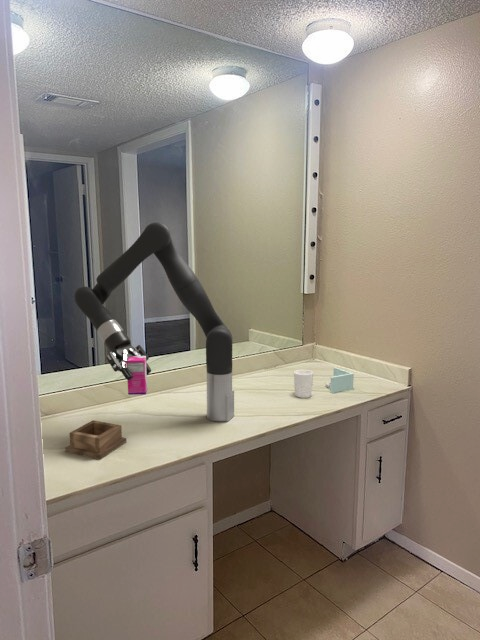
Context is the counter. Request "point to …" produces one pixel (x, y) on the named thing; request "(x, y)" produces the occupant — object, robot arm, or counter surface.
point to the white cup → (303, 383)
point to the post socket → (95, 439)
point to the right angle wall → (340, 381)
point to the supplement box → (137, 375)
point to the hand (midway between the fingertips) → (140, 375)
